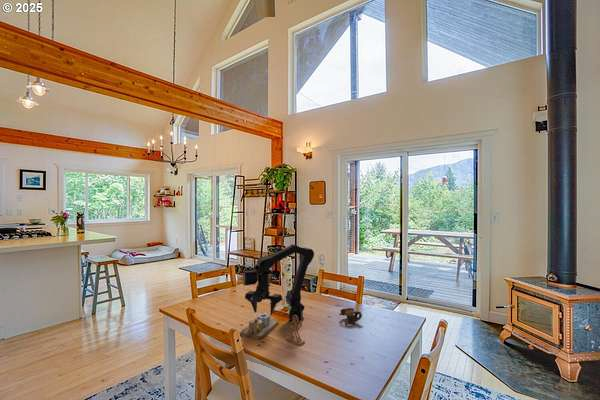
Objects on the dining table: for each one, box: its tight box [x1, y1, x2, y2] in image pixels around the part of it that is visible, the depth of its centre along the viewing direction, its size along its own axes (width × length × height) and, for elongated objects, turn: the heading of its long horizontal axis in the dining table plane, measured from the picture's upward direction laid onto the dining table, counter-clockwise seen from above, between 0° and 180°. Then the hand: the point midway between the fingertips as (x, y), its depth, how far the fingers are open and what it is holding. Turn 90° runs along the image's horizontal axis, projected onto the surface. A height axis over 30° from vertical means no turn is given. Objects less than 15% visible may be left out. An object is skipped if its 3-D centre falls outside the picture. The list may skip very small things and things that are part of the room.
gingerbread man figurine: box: [285, 315, 306, 347], centre depth 131 cm, size 9×4×12 cm, turn 45°
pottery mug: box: [339, 307, 363, 326], centre depth 152 cm, size 12×10×8 cm
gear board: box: [239, 318, 279, 341], centre depth 143 cm, size 12×18×6 cm, turn 160°
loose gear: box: [256, 313, 271, 326], centre depth 146 cm, size 7×7×4 cm
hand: (263, 313), depth 146 cm, fingers open, 9 cm apart
